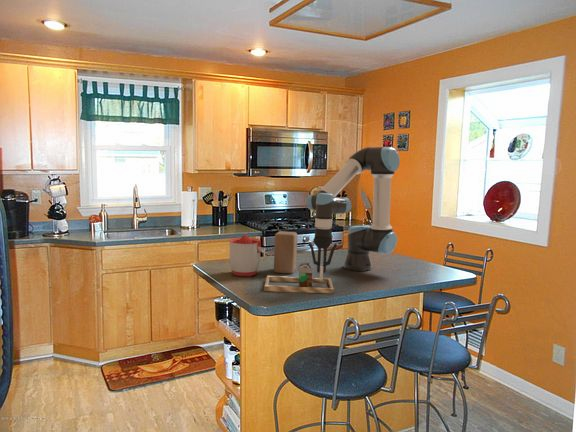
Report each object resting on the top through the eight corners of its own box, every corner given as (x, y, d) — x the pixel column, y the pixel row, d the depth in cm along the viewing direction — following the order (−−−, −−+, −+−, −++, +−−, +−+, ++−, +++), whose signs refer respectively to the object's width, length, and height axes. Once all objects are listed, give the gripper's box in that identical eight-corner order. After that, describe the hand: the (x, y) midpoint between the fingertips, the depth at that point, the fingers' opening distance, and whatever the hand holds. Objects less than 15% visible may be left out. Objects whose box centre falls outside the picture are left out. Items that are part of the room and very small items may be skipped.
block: (292, 274, 225) (294, 234, 223) (273, 272, 227) (274, 233, 225) (296, 269, 235) (297, 232, 233) (277, 268, 237) (278, 230, 234)
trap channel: (330, 282, 212) (330, 277, 211) (333, 293, 194) (333, 288, 194) (267, 280, 212) (267, 275, 212) (264, 290, 195) (264, 285, 194)
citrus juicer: (259, 279, 213) (260, 238, 211) (224, 276, 216) (225, 235, 214) (266, 271, 229) (267, 233, 226) (233, 269, 232) (234, 231, 229)
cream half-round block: (295, 283, 209) (295, 262, 208) (308, 283, 209) (309, 262, 208) (297, 290, 197) (298, 268, 196) (311, 290, 197) (312, 268, 196)
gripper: (337, 227, 203) (334, 278, 206) (308, 226, 204) (306, 277, 206) (338, 229, 196) (336, 282, 199) (309, 228, 196) (306, 281, 199)
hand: (320, 279), depth 202 cm, fingers closed
